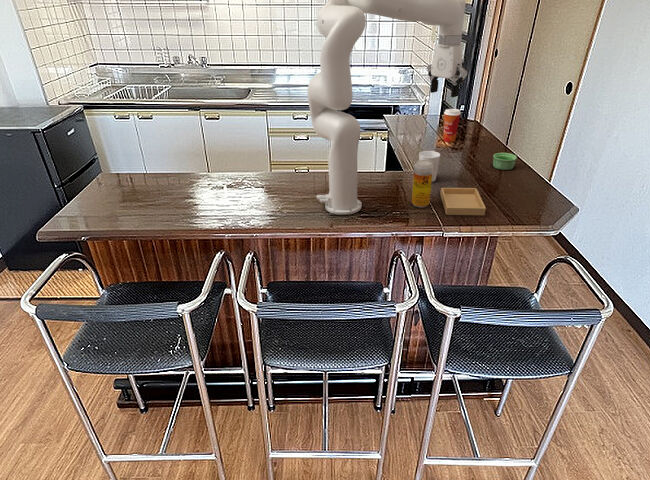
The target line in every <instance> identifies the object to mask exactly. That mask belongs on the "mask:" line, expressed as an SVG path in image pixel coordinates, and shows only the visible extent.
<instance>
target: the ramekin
mask: <svg viewBox="0 0 650 480" xmlns="http://www.w3.org/2000/svg"><path fill="white" fill-rule="evenodd" d="M492 158H493V159H492V160H493V161H492V166H493V167H494V169H497V170H502V171H510V170H513V169H514V167H515V164H516V161H517V159H518V157H517V155H515V154H513V153H508V152H497V153H494V154H493V157H492Z"/></svg>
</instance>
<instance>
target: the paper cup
mask: <svg viewBox="0 0 650 480" xmlns="http://www.w3.org/2000/svg"><path fill="white" fill-rule="evenodd" d="M443 114H444V115H443V116H444V118H443V133H442V134H443V137H442V140H443V142H445V143H454V142H456V139H457V133H458V128H459V124H460V117H461V114H462V113H461V110H460V109H458V108H446V109H445V110H444V111H443Z"/></svg>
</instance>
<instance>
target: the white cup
mask: <svg viewBox="0 0 650 480" xmlns="http://www.w3.org/2000/svg"><path fill="white" fill-rule="evenodd" d="M440 159H441V153H440V152H438V151H435V150H422V151H420V152H419V153H418V161H419V160H428V161H431V162H432V164H433V174H432V183H433V182H435V181H436V180H437V176H438V171H439V167H440V161H441V160H440Z"/></svg>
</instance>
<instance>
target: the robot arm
mask: <svg viewBox="0 0 650 480" xmlns="http://www.w3.org/2000/svg"><path fill="white" fill-rule="evenodd" d="M466 2H467V1H466V0H328V1H327V2H326V3H325V4H324V5H323V6H322V8H321V9H320V10H319V11H318V14H317V17H316V28H317V30H318V32H319V33H320V35H321V36H322V37H324V38H325V39H324V42H323V44H322V46H321V49H320V55H319V65H320V72H318V73H316V74H314V75H313V76H312V77H311V78H310V80H309V82H308V86H307V100H308V107H309V114H310V119H311V124H312V128H313V130H314V132H315V133H316V135H318V136H319V137H320V138H322V139H325V140H327V141H328V142H330V143H331V145H330V148H329V150H328V155H327V165H328V193H326V194H317V195H316V201H319V204H324V208H325V210H326V211H327V212H329V213H331V214H334V215H339V216H345V215H346V216H347V215H352V214H355V213H358V212H360V210H361V209H362V207H363V205H362V202H361V200H359V199H358V152H359V143H360V137H361V132H362V131H361V129H362V128H361V124H360V122H359V121H358V119H357V118H356V117H355V116H353V115H352V114H350V113H346V112H344V110H347V109H349V108H350V106H351V105H352V103H353V85H352V75H351V73H352V72H351V53H352V51H353V48H354V46H355V45H356V43H357V41H358V40H359V39H360V38H361V36H362V35H363V33H364V31H365V28H366V24H367V20H366V14H369V15H374V16H379V17H384V18H389V19H393V20H399V21H404V22H405V21H406V22H421V23H422V24H423V25H428V26H439V27H438V35H437V37H436V40H437V44H435V47H434V51H433V54H432V60H431V63H430V64H429V65H427V66H426V69H427V75H428V77H429V81H430V89H429V93H431V94H434V93H437V92H438V91H439V83H440V82H439V78H441V79H446V80H450V79H451V82H452V85H451V91H450V97H451V98H457V97H459V94H460V87H461V85H462V83H463V82H464V81H465V79H466V78H467V75H468V71H467V70H466V69H465V68H464V67H463V66H462V64H463V45H461V44H462V39H463V38H462V37H463V28H464V21H465V20H464V19H465V14H466V13H465V12H466Z"/></svg>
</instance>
